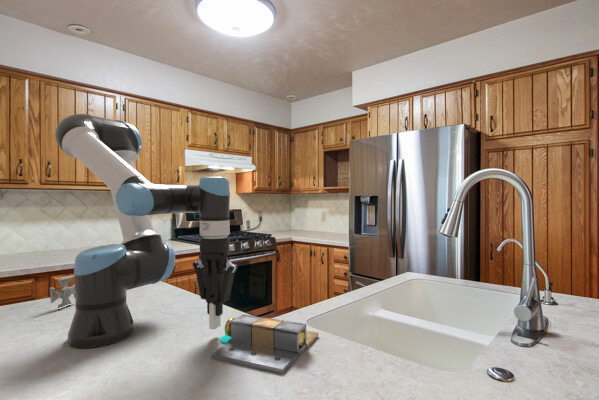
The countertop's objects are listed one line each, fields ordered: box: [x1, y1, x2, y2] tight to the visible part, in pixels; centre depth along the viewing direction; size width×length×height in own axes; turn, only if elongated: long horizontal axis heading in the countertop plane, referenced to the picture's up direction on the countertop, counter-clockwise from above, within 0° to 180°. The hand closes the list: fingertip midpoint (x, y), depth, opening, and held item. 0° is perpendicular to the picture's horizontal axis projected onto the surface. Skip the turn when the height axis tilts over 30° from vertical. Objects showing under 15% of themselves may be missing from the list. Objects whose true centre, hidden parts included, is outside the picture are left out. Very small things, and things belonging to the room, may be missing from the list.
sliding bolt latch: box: [210, 314, 319, 375], centre depth 82 cm, size 18×20×6 cm
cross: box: [49, 275, 75, 308], centre depth 114 cm, size 10×3×10 cm, turn 166°
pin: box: [224, 317, 305, 346], centre depth 82 cm, size 20×4×4 cm, turn 66°
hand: (214, 327), depth 88 cm, fingers closed
